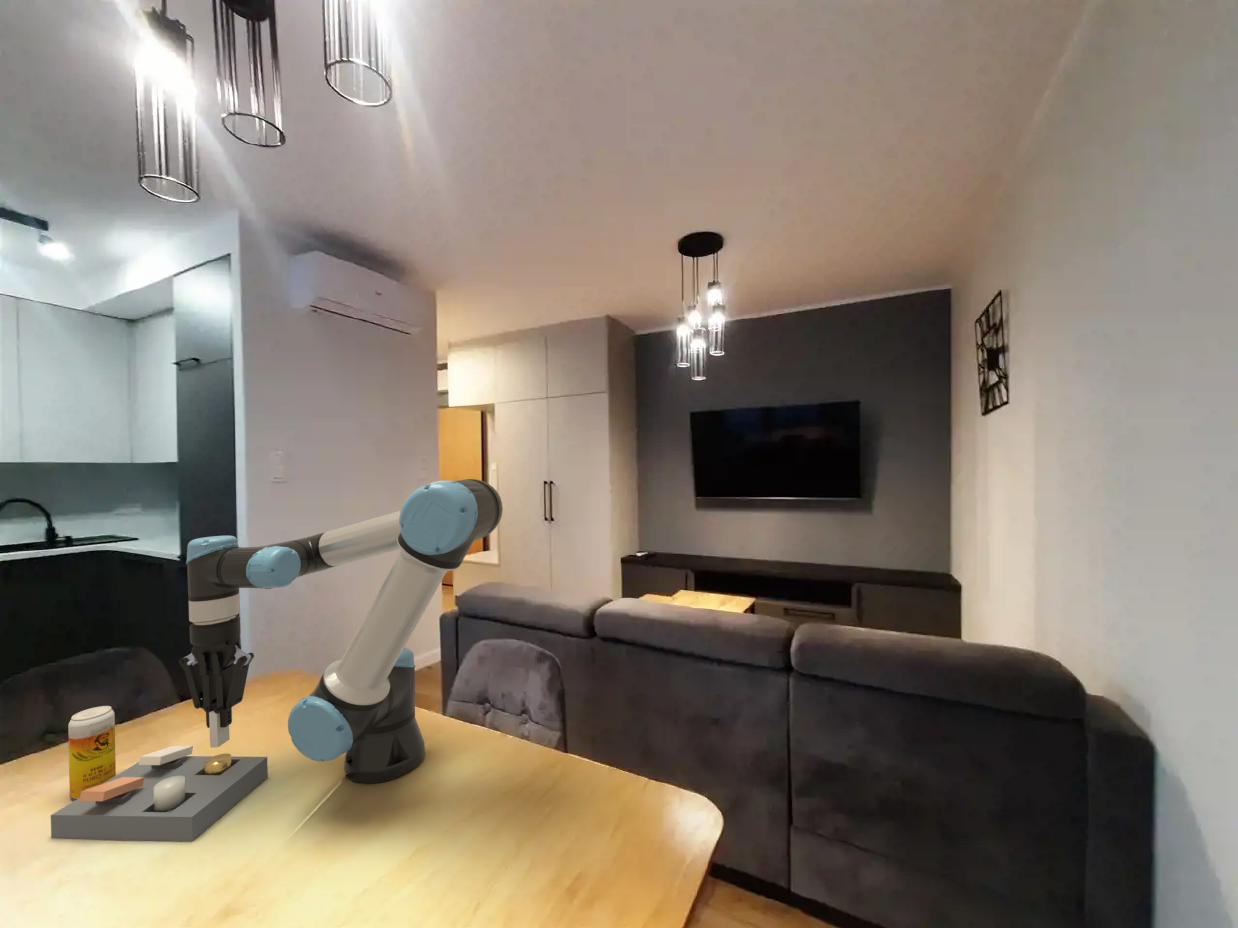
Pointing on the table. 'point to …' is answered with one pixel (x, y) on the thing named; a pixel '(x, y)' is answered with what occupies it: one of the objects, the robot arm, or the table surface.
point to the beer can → (91, 749)
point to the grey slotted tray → (141, 822)
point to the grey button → (169, 793)
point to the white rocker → (165, 755)
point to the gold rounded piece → (217, 764)
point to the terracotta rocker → (111, 789)
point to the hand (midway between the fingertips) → (220, 743)
